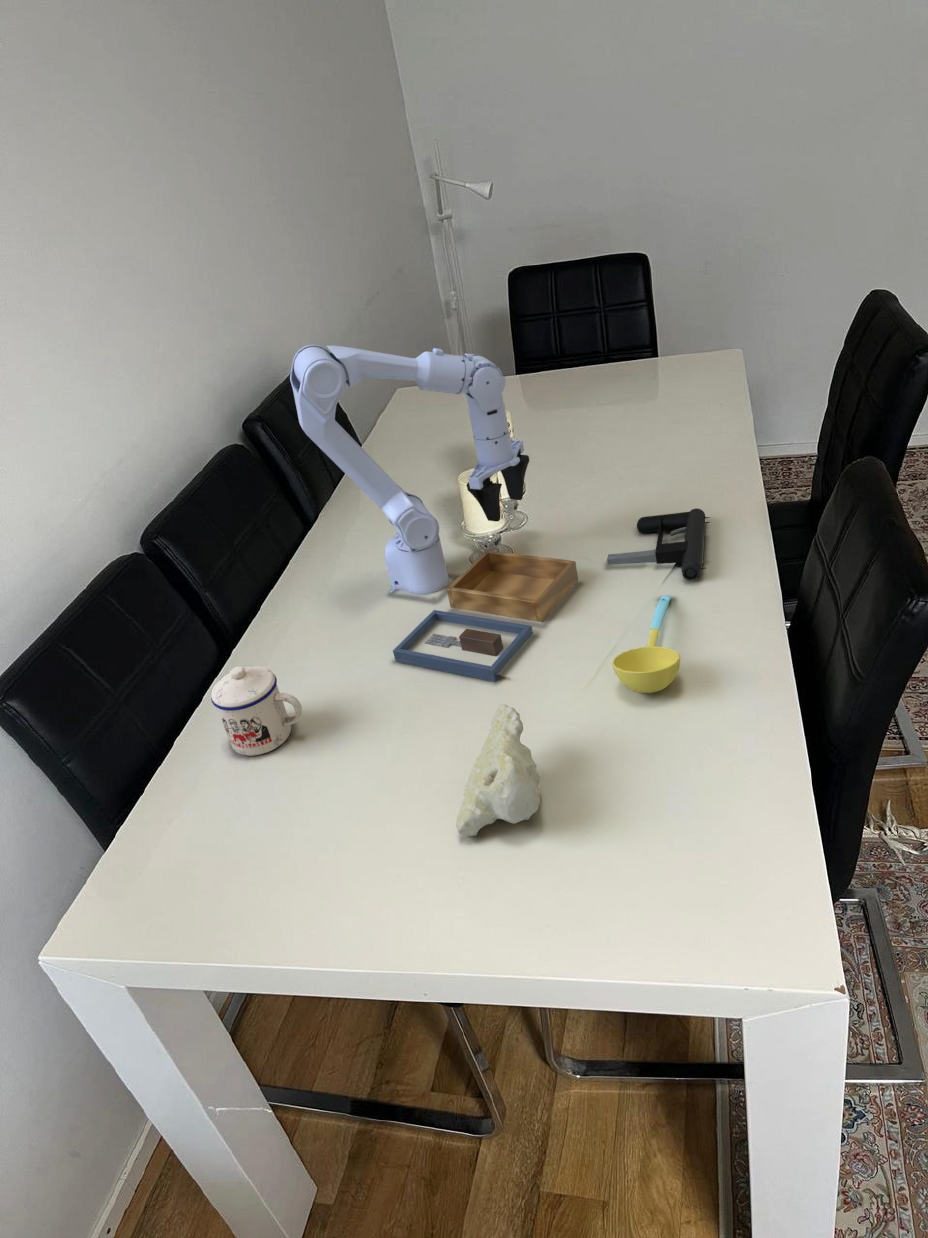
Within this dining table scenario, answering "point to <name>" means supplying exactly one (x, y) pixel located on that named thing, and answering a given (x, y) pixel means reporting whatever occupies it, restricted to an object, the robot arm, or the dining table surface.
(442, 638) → the fork
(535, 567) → the wooden box
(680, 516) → the submachine gun
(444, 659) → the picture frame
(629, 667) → the ladle
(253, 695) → the teacup with lid
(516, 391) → the dining table surface
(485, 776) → the white rock
